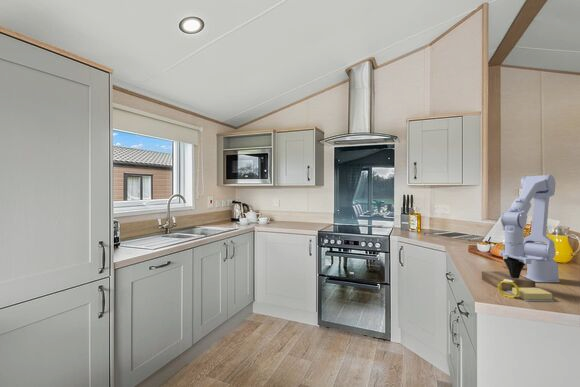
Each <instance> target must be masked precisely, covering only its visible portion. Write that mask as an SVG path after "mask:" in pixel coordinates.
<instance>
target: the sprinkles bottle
mask: <svg viewBox="0 0 580 387" xmlns="http://www.w3.org/2000/svg"><path fill="white" fill-rule="evenodd" d="M502 246H503V249H502V250H505V239H502ZM502 258H503V259H502V260H503V266H502V267H503V268H505V269H508V267H507V265H506V263H505V262H504V259H507V258H508V257H506V256H502Z"/></svg>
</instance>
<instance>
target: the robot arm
mask: <svg viewBox="0 0 580 387" xmlns="http://www.w3.org/2000/svg"><path fill="white" fill-rule="evenodd" d="M520 187H521V190H520V191H521V192H520V195H519V197H518V198H515V199H514V200H513V202H512V204H511V205H510V207H509V209H508V210H507V211H505V212H504V213H502V215H501V217H500V222H501V225H502V231H504V240H505V250H503V249H499V256H502V257H503V256H506V257H508V258H507V259H504V260H503V263H504V262H505V263H506V265H507V267H508V268H507V269H508V271H509V272H510V276H511V277H512V278H519V276H520V275H521V273H522V270H523V268H524V266H526V274H525V275H524V274H522V275H521V276H524V277H526V278H528V279H531V280H533V281H535V283H561V281H560V280H559V264H558V263H557V261H556V260H555V257H556V253H557V252H556V246H555V245H556V244H555V242H554V240H553V239H552V238H550V237H548V236H547V232H548V231H547V229H548V227H547V226H548V217H549V216H548V215H549V202H550V198H551V197H552V196H554V195H555V192H556V178H555V176H554V175H553V174H542V175H541V174H540V175H524V176H522V178H521V179H520ZM532 199H533V201H532ZM531 201H532V202H533V204H532V203H531ZM531 207H532V216H531V229H530V234H529V235H527V236H525V237H524V235H525V234H524V228H525V227H526V225H527V222H528V220H527V219H528V213H529V212H530V210H531Z"/></svg>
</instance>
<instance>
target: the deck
mask: <svg viewBox="0 0 580 387" xmlns="http://www.w3.org/2000/svg"><path fill="white" fill-rule="evenodd" d="M504 279H508V280H512V281H513V283H515V284H516V285H517V286H518V288H537V287H536V282H535V281H533V280H531V279H528V278H526V277H524V276H522V275H521V274H520V276H519V278H512V277H511V276H510V272H509V270H508V271H505V270H504V271H496V270H494V271H488V270H487V271H481V281H484V282H486V283H487V284H490V285H491V286H493V287H494V288H497V289H498V284H499V283H500V282H502V281H504ZM512 288H515V286H514V285H512V284H509V283H505V282H503V283H501V285H500V289H501V291H506V290H512Z"/></svg>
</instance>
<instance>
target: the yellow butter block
mask: <svg viewBox="0 0 580 387" xmlns="http://www.w3.org/2000/svg"><path fill="white" fill-rule="evenodd" d="M512 293H513V294H512ZM512 293H511V294H512V295H514V294H515V295H516V293H517V289H516V288H512ZM515 295H514V296H515ZM517 296H519V297H521V298H523V299H550V300H553V293H551V292H549V291H547V290H545V289H543V288H541V287H536V288H519V294H518V295H517ZM517 296H516V297H517ZM519 297H518V298H519ZM521 298H520V299H521ZM523 299H522V300H523Z"/></svg>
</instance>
